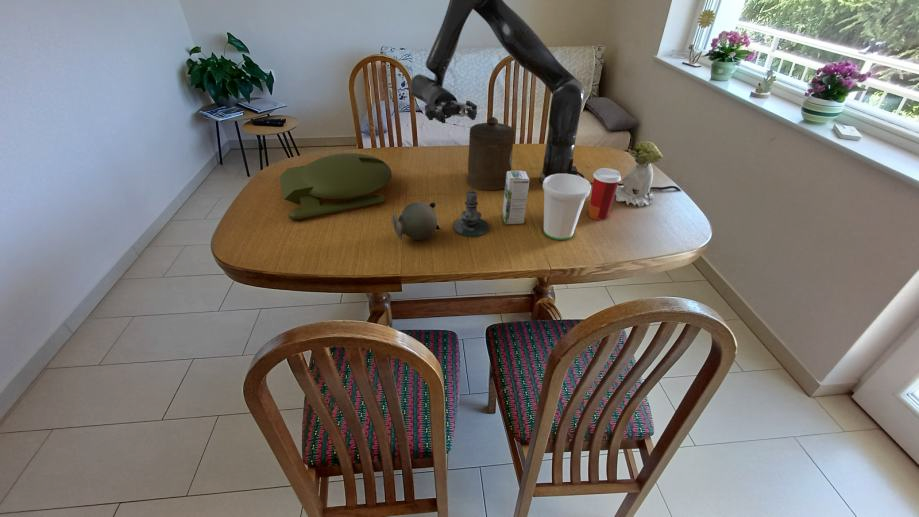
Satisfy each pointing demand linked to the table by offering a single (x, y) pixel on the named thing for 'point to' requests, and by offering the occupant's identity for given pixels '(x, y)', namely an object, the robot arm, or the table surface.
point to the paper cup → (603, 192)
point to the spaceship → (334, 184)
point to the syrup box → (515, 197)
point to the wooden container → (490, 154)
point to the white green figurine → (639, 175)
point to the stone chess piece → (471, 212)
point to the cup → (563, 204)
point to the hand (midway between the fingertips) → (459, 117)
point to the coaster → (478, 232)
